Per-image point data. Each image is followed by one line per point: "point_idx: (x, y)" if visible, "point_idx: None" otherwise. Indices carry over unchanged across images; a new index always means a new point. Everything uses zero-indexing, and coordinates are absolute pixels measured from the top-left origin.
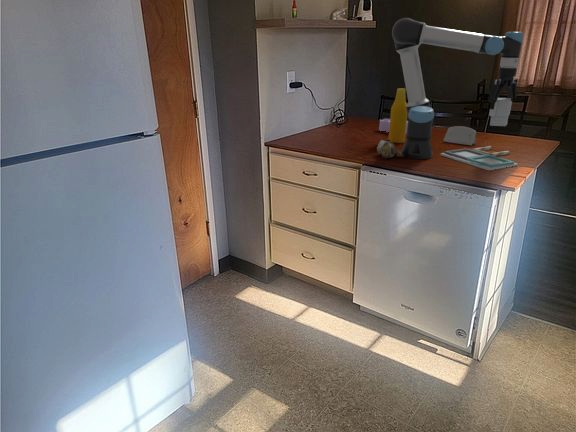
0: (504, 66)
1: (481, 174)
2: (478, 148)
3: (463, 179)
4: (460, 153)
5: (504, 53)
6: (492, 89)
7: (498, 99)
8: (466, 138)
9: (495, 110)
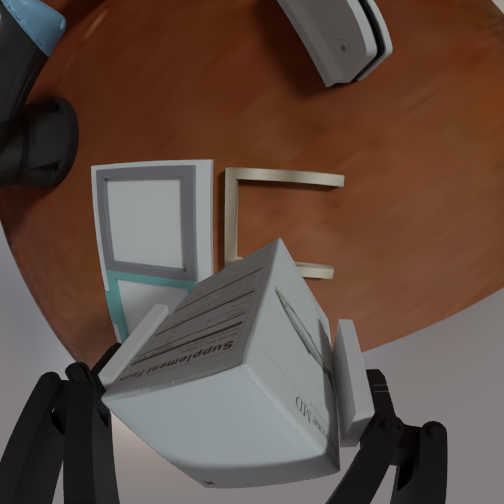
0: None
1: (94, 343)
2: (256, 178)
3: (57, 336)
4: (142, 195)
5: None
6: (11, 459)
7: (142, 436)
8: (331, 45)
9: None
